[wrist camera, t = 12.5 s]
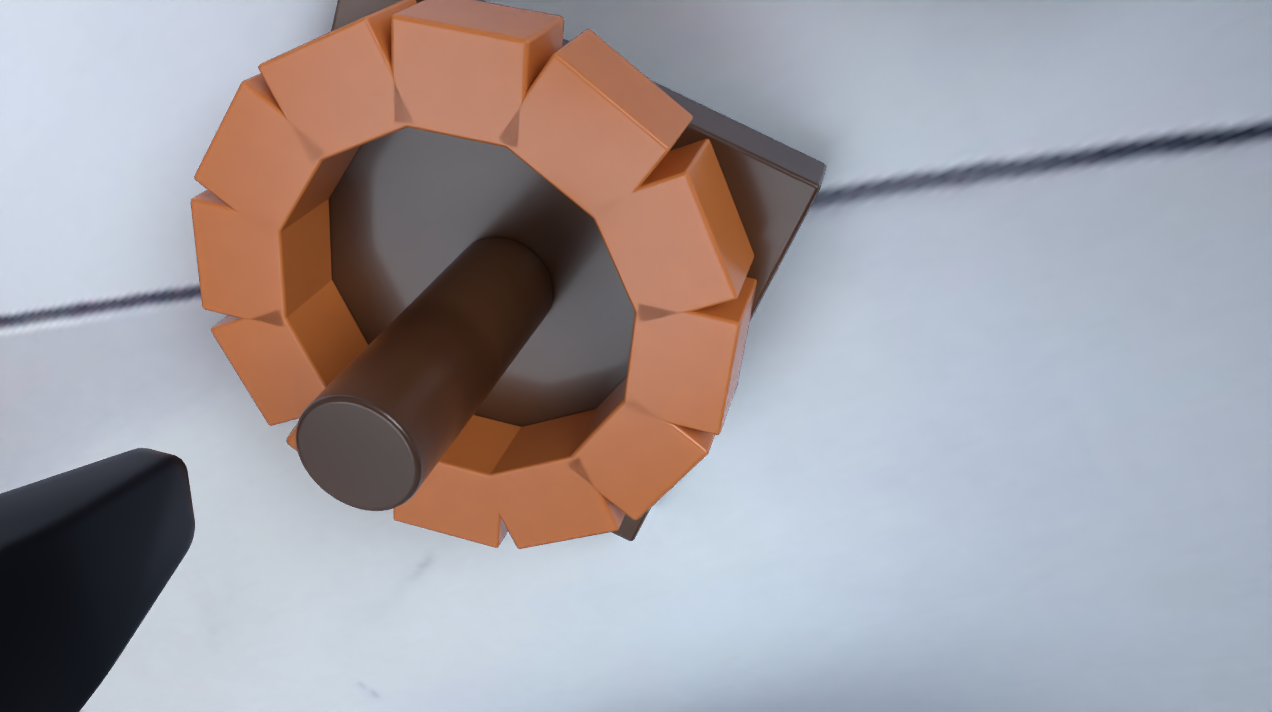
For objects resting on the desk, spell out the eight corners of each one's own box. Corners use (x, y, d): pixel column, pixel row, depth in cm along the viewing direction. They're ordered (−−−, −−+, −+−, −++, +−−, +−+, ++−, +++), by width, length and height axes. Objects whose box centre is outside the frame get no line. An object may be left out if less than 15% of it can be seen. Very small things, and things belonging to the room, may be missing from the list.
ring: (707, 543, 22) (688, 601, 21) (266, 428, 24) (219, 473, 22) (800, 58, 17) (785, 87, 15) (227, -46, 19) (162, -29, 17)
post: (645, 510, 24) (538, 768, 18) (287, 335, 24) (60, 530, 18) (828, 163, 19) (767, 355, 13) (376, -53, 19) (107, 35, 13)
